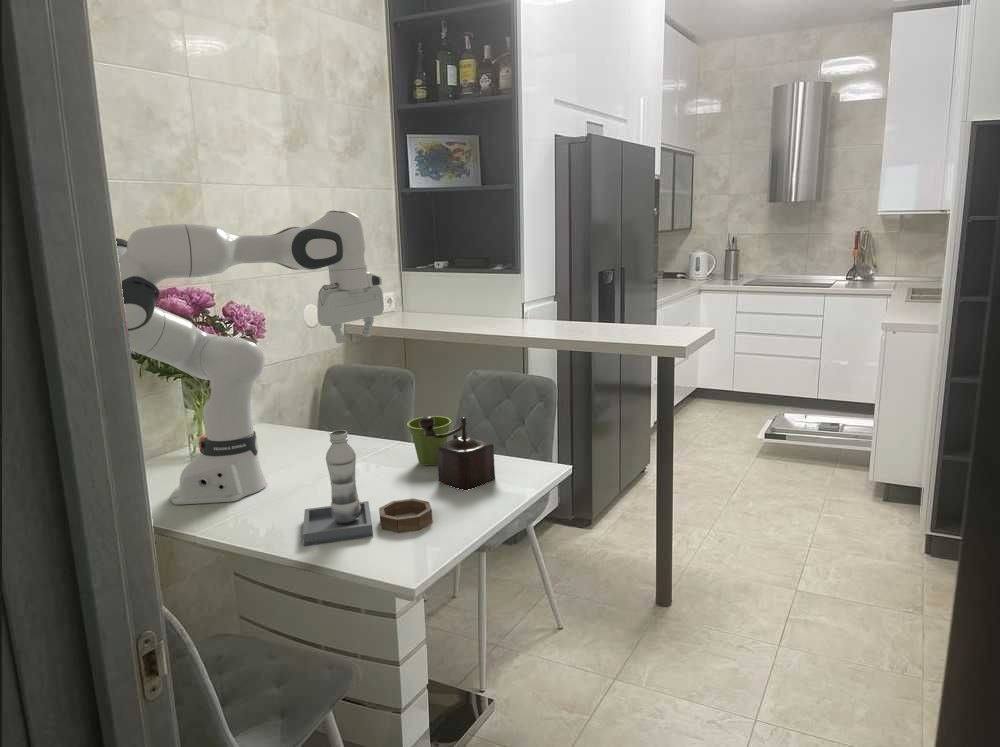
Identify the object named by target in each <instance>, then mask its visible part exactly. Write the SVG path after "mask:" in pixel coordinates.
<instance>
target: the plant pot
mask: <svg viewBox="0 0 1000 747" xmlns="http://www.w3.org/2000/svg"><path fill="white" fill-rule="evenodd" d="M429 416H430V415H429ZM423 417H424V416H421V417H417V418H413V419H411V420H409V421H408V422H407V423H406V426H407V427H408V428H409V431H410V434H411V436H412V440H413V445H414V450H415V452H416V456H417V461H418V463H419V464H420V465H421V466H426V465H427V466H431V465H434V466H438V460H437V446H441V445H444V444H446V443H447V442H448V437H449V436H447V437H443V438H435V437H431V436H425V435H424V433H425V430H424V429H422V428H421V427H420V426H419V421H420V420H421V419H422V418H423ZM430 417H433V418H434V419H435V424H434V427H433V428H434V430H435V431H436V433H435V434H437V435H441V434H445V433H448V432H450V424H452V420H451V418H449V417H446V416H442V415H441V416H440V415H431V416H430Z"/></svg>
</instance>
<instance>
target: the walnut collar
mask: <svg viewBox="0 0 1000 747" xmlns="http://www.w3.org/2000/svg"><path fill="white" fill-rule="evenodd" d="M378 512H379V521H380V522H379V524H380V527H381V530H384V531H387V532H388V531H389V532H392V533H396V534H402V533H409V532H417V531H421V530H422V529H424V528H425V527H428V526H429V525H430V524H432V523H433V522H434V520H433V509H432V506H431V504H430V501H427V500H422V499H418V498H407V499H400V500H399V499H398V500H393V501H390V502H388V503H386V504H384V505H382V506H380V507H379V508H378ZM406 514H407V515H408V514H415V515H409V516H402V517H397V516H400V515H406Z"/></svg>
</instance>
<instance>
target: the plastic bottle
mask: <svg viewBox="0 0 1000 747" xmlns="http://www.w3.org/2000/svg"><path fill="white" fill-rule="evenodd" d="M329 442H330V443H331V444H330V446H329V448H327V451H326V454H325V462H326V466H327V470H328V475H329V479H330V486H331V503H330V506H331V514H332V518H333V519H334V520H335V522H337V523H350V522H354V521H356V520H357V519H358V518H359V516H360V513H361V506H360V502H361V501H360V499H359V496H358V491H357V490H358V489H357V484H356V483H357V482H356V462H357V461H356V458H357V456H356V455H357V454H356V452H355V449H354V448H353V447H352V445H350V444H349V443H348V442H349V437H348V431H347V430H344V429H343V430H339V429H338V430H333V431H331V432H330V433H329Z"/></svg>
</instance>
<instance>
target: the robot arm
mask: <svg viewBox="0 0 1000 747" xmlns="http://www.w3.org/2000/svg"><path fill="white" fill-rule="evenodd" d="M115 238H116V241H117V248H118V255H119V263H120V272H121V281H122V289H123V297H124V304H125V310H126V318H127V327H128V334H129V342H130V350H129V351H131V352H134V353H137V354H139V355H142V356H145V357H147V358H150V359H152V360H157V361H159V362H162V363H164V364H166V365H169V366H171V367H174V368H176V369H177V370H179V371H181V372H184V373H186V374H188V375H190V376H193V377H195V378H197V379H200V380H207V381H211V391H210V396H209V399H208V400H207V401H206V403H205V404H204V405H203V408H202V409H203V410H202V411H203V420H204V425H205V433H206V435H205V434H204V435H203V434H202V435H201V436H200V438H199V440H198V448H199V452H200V453H199V454H198V455H197V456H196V457H195V458H193V460H191V461H190V462H189V463H188V464H187V465H186V466H185V467H184V468H183V469H182V472H180V473H181V474H180V476H179V477H180V478H179V485H178V486H177V487H176V488H174V490H173V491H172V493H171V496H170V501H171V503H172V504H174V505H176V506H177V505H179V506H180V505H195V504H212V503H214V504H215V503H227V502H228V503H230V502H236V501H239V500H241V499H243V498H245V497H247V496H250V495H252V494H255V493H258V492H260V491H262V490H263V489H265V488H266V487H267V485H268V483H267V480H266V478H265V476H264V473H263V470H262V467H261V464H260V460H259V456H258V453H259V444H258V437H257V432H256V431H255V430H254V422H253V413H252V395H253V389H254V385H255V382H256V380H257V378H259V377H260V375H261V374H262V373H263V370H264V368H265V363H266V361H265V355H264V351H263V350H262V348H261V347H260V346H259V345H257V344H256V343H254V342H252V341H250V340H248V339H245V338H242V337H234V336H233V337H232V336H224V335H217V334H211V333H209V332H206V331H203V330H201V329H200V328H198V327H197V326H195V325H194V323H192V321H191V320H188V319H186V318H183V317H181V316H179V315H177V314H174V313H173V312H169V311H167V310H165V309H162V308H160V307H157V306H156V304H157V301H158V299H159V296H160V294H161V293H160V292H161V291H160V289H159V288H158V286H157V284H158V283H160V282H161V281H163V280H166V279H167V280H168V279H174V278H175V279H176V278H177V279H178V278H179V279H180V278H182V279H183V278H201V277H208V276H213V275H218V274H222V273H223V272H225V271H226V270H227V269H229V268H231V267H232V266H236V265H241V264H260V263H261V264H263V263H264V264H265V263H272V264H278V265H280V266H282V267H285V268H287V269H290V270H295V271H298V270H305V271H317V270H319V269H323V268H325V267H327V268H328V277H329V278H328V279H329V284H323V285H322V286H321V288H320V289H319V290H318V291H317V292H318V297H317V304H316V306H317V308H316V309H317V311H316V312H317V322H318V323H319V325H320V326H321V327H323V326H324V327H330V329H331V331H332V333H333V335H334V336H335V342H336V344H343V343H346V341H347V339H346V334H343V332H342V327H343V326H342V325H343V324H345V323H350V322H354V321H355V322H356V321H359V320H362V321H363V322H364V326H363V328H361V336H362V337H366V338H367V337H371V336H372V327H373V325H374V323H375V322H374V317H377V316H381V315H383V313H384V309H385V308H384V307H385V305H384V304H385V303H384V294H383V293H384V292H383V289H382V287H381V286H382V283H383V279H382V277H381V276H380V275H377V274H374V273H372V272H369V271H368V267H367V266H368V265H367V263H366V260H365V251H366V242H365V234H364V229H363V225H362V222H361V218H360V217H359V216H358V215H357V214H356V213H353V212H349V211H343V210H330V211H327V212H326V213H325V214H324V215H323V216H322V217H320V218H318V219H317V220H316V221H314V222H312V223H310V224H308V225H305V226H304V227H300V226H292V227H291V226H290V227H287V228H284V229H282V230H280V231H279V232H276V233H274V234H265V235H263V234H262V235H261V234H260V235H259V234H258V235H256V234H255V235H253V234H252V235H241V234H240V235H239V234H233V233H229V232H227V231H225V230H224V229H222V228H219V227H216V226H210V225H204V224H193V223H175V224H174V223H173V224H162V225H154V226H147V227H142V228H138V229H136V230H134V231H133V232H131V234H130V236H129V238H128V240H126V239H124V238H123V239H122V238H117V237H115Z"/></svg>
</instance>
